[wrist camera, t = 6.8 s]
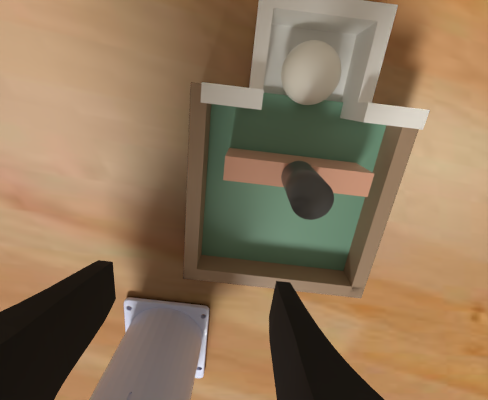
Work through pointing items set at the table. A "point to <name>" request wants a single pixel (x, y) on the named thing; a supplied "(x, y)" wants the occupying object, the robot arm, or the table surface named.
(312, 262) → the pitch
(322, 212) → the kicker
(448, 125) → the table surface
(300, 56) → the ball
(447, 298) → the table surface
